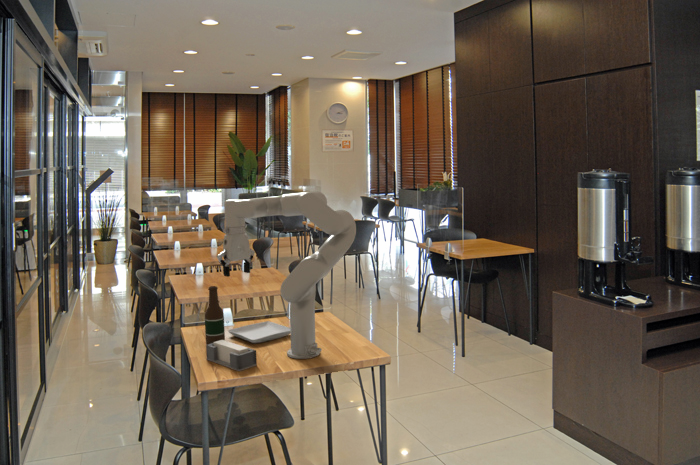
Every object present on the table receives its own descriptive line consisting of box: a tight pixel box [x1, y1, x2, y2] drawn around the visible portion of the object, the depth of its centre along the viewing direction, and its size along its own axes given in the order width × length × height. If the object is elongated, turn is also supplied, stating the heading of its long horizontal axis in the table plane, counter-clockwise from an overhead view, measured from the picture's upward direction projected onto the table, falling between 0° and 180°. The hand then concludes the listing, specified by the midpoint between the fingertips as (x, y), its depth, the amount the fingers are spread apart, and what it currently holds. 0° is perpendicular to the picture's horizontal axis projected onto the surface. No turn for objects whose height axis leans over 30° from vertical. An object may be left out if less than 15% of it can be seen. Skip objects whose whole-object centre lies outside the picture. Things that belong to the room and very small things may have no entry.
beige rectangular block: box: [214, 339, 249, 363], centre depth 205 cm, size 16×4×6 cm, turn 48°
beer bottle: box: [204, 285, 226, 346], centre depth 228 cm, size 8×8×24 cm
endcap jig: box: [205, 343, 258, 372], centre depth 205 cm, size 20×8×6 cm, turn 48°
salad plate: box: [227, 320, 290, 344], centre depth 239 cm, size 21×21×3 cm
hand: (237, 274), depth 218 cm, fingers open, 9 cm apart
